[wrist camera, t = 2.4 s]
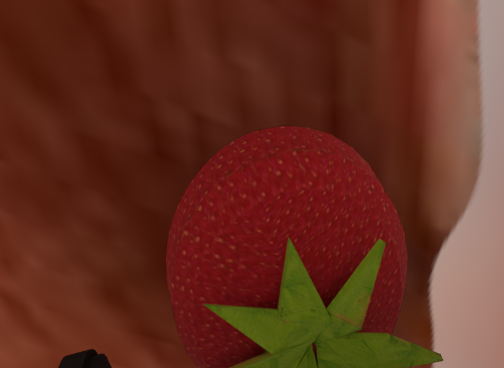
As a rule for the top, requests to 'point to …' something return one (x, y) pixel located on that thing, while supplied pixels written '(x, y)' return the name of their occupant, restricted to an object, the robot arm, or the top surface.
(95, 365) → the robot arm
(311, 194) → the strawberry
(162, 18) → the top surface
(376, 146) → the top surface
